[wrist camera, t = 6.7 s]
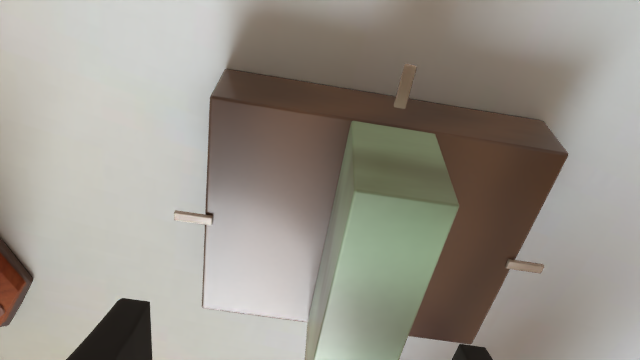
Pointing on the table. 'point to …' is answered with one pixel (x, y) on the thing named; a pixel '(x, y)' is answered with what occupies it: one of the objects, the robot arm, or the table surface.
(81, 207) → the table surface
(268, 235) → the brown piece
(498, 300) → the table surface
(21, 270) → the model
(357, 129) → the mint green brick
